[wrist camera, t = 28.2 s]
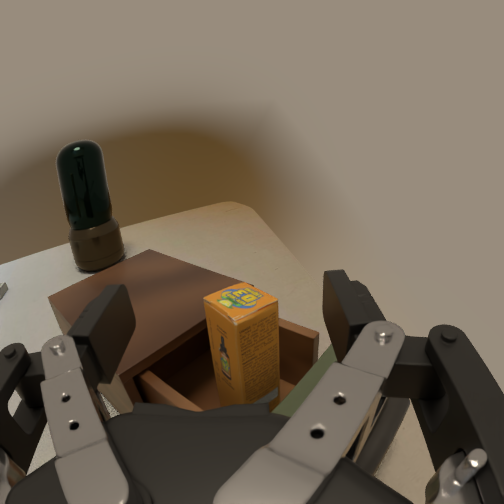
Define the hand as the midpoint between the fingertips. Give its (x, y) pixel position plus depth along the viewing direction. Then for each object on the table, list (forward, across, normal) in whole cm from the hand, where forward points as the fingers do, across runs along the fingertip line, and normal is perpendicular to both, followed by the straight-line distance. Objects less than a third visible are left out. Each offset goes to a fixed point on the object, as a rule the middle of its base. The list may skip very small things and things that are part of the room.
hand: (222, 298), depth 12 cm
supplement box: (+4, 0, +13) cm, 13 cm away
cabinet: (+11, +9, +14) cm, 20 cm away
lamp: (+37, +27, +15) cm, 48 cm away
